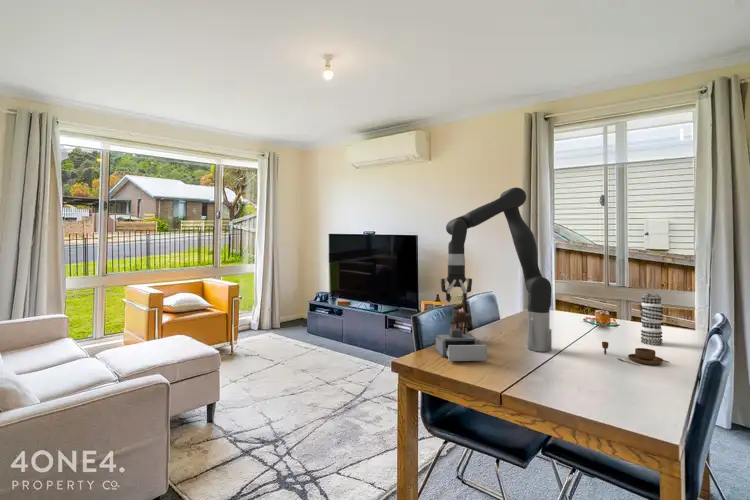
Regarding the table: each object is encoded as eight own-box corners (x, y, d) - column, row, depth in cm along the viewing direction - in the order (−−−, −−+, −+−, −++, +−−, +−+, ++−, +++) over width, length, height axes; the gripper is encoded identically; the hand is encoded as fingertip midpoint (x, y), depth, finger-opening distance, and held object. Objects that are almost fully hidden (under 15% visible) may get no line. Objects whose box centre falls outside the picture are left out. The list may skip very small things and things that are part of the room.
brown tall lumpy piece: (458, 346, 182) (458, 304, 183) (441, 342, 191) (441, 302, 192) (479, 342, 191) (479, 302, 192) (462, 338, 200) (462, 299, 200)
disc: (461, 298, 175) (461, 295, 175) (465, 300, 169) (465, 296, 169) (447, 298, 175) (447, 295, 175) (451, 300, 168) (451, 296, 168)
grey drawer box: (469, 349, 178) (469, 327, 178) (479, 356, 165) (479, 333, 165) (435, 349, 176) (435, 327, 176) (442, 357, 163) (442, 333, 164)
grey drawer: (476, 352, 168) (476, 338, 168) (486, 360, 155) (486, 345, 156) (441, 352, 167) (441, 339, 167) (448, 361, 154) (448, 345, 154)
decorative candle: (642, 346, 183) (642, 294, 184) (637, 342, 192) (637, 292, 192) (666, 348, 180) (665, 295, 180) (659, 344, 189) (659, 293, 189)
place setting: (644, 367, 152) (644, 352, 152) (599, 355, 170) (599, 341, 170) (674, 363, 158) (674, 349, 158) (626, 351, 177) (626, 338, 177)
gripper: (469, 264, 176) (469, 300, 176) (438, 264, 175) (438, 300, 175) (474, 264, 168) (474, 302, 168) (442, 264, 167) (442, 303, 167)
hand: (456, 301), depth 172 cm, fingers closed on disc, 6 cm apart
